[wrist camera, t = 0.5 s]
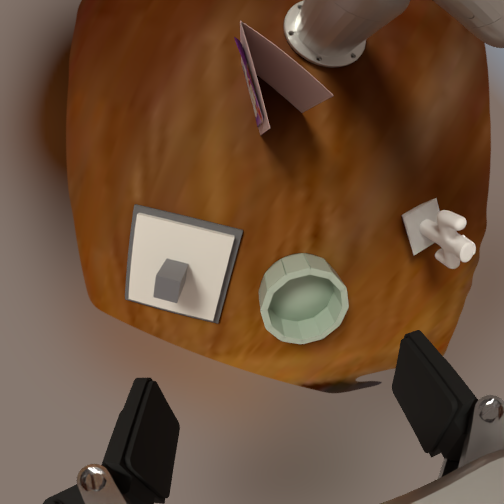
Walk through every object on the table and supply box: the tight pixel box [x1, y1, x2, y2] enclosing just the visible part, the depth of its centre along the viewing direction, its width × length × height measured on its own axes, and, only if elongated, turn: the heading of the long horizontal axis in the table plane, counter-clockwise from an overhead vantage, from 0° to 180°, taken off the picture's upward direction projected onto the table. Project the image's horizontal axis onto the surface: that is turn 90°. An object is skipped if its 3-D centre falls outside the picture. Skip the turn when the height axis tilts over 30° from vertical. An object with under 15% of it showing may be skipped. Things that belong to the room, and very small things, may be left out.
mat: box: [125, 204, 243, 323], centre depth 44 cm, size 17×17×1 cm
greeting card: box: [234, 21, 334, 135], centre depth 28 cm, size 11×7×15 cm, turn 14°
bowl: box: [259, 253, 349, 344], centre depth 43 cm, size 13×13×6 cm
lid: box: [128, 213, 235, 321], centre depth 40 cm, size 15×15×7 cm
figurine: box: [402, 198, 476, 269], centre depth 35 cm, size 7×9×15 cm
